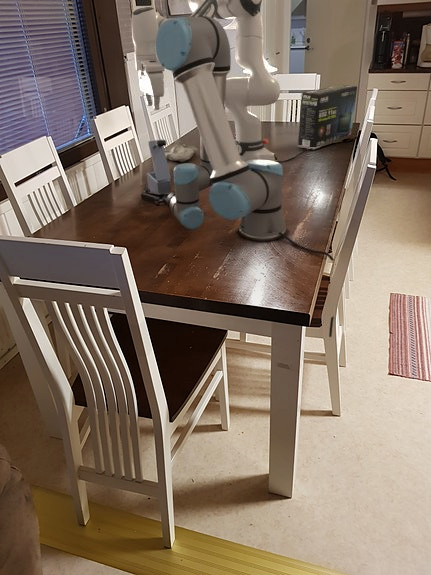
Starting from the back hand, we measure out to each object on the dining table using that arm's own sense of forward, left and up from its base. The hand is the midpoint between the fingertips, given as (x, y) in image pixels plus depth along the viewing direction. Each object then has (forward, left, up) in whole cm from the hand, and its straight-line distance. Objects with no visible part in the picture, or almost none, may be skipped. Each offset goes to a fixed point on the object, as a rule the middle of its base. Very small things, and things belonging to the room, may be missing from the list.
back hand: (153, 107), depth 161 cm
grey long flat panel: (0, 0, -19) cm, 19 cm away
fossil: (-40, -44, -34) cm, 69 cm away
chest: (-1, -3, -34) cm, 34 cm away
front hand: (+1, +2, -28) cm, 28 cm away
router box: (-112, -10, -34) cm, 117 cm away
